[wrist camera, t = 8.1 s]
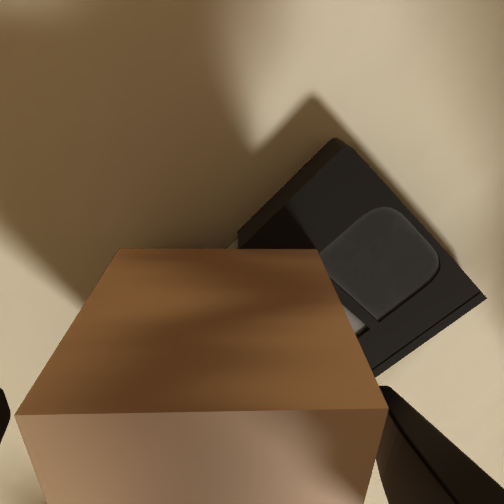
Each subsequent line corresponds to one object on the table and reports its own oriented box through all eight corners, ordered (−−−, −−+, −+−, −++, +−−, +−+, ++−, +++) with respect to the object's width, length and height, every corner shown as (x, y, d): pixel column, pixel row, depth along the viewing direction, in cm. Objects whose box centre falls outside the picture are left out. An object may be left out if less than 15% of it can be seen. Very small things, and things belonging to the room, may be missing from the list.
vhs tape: (81, 380, 16) (62, 419, 14) (331, 131, 12) (348, 142, 10) (212, 453, 19) (210, 494, 17) (456, 269, 14) (487, 298, 13)
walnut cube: (316, 249, 12) (388, 408, 6) (300, 390, 14) (341, 588, 9) (119, 248, 11) (14, 415, 6) (140, 393, 14) (81, 598, 9)
